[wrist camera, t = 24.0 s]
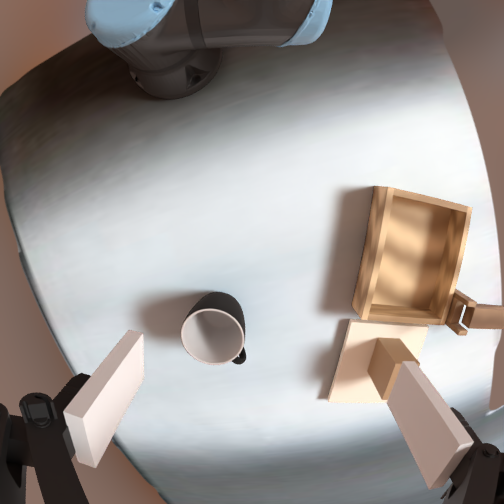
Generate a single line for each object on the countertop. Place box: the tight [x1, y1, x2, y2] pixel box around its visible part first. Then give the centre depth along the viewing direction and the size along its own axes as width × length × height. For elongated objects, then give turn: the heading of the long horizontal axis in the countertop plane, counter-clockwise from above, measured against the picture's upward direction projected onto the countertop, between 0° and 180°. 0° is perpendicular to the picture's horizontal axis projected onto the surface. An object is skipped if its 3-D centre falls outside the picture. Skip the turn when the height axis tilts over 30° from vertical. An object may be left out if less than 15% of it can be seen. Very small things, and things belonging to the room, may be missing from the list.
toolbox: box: [352, 186, 477, 335], centre depth 45 cm, size 20×18×10 cm
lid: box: [328, 319, 429, 403], centre depth 50 cm, size 17×16×11 cm
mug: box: [181, 292, 246, 365], centre depth 49 cm, size 12×9×10 cm
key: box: [461, 304, 504, 329], centre depth 44 cm, size 4×11×2 cm, turn 82°
